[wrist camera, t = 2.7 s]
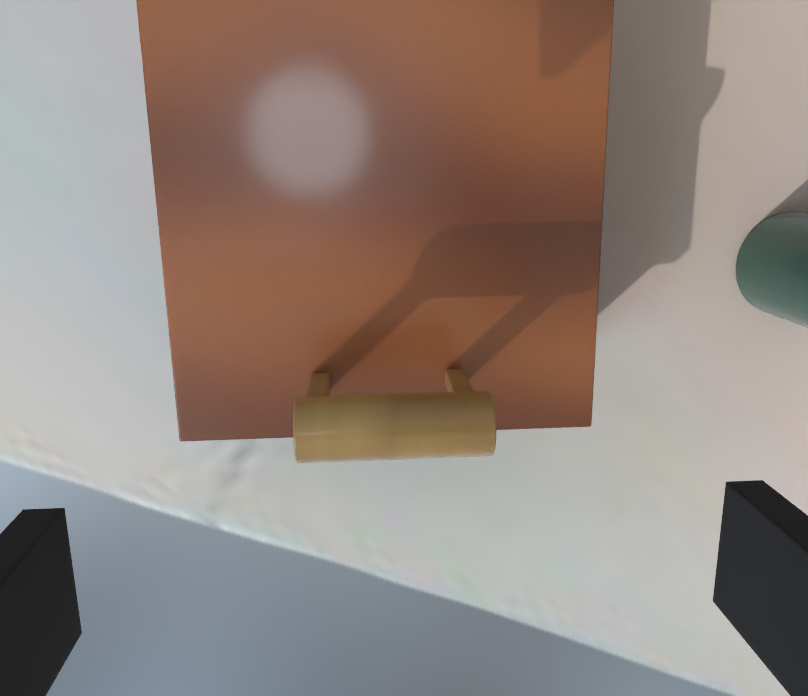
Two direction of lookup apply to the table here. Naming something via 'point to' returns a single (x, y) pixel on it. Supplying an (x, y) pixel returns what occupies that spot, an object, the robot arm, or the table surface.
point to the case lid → (379, 217)
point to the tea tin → (777, 267)
